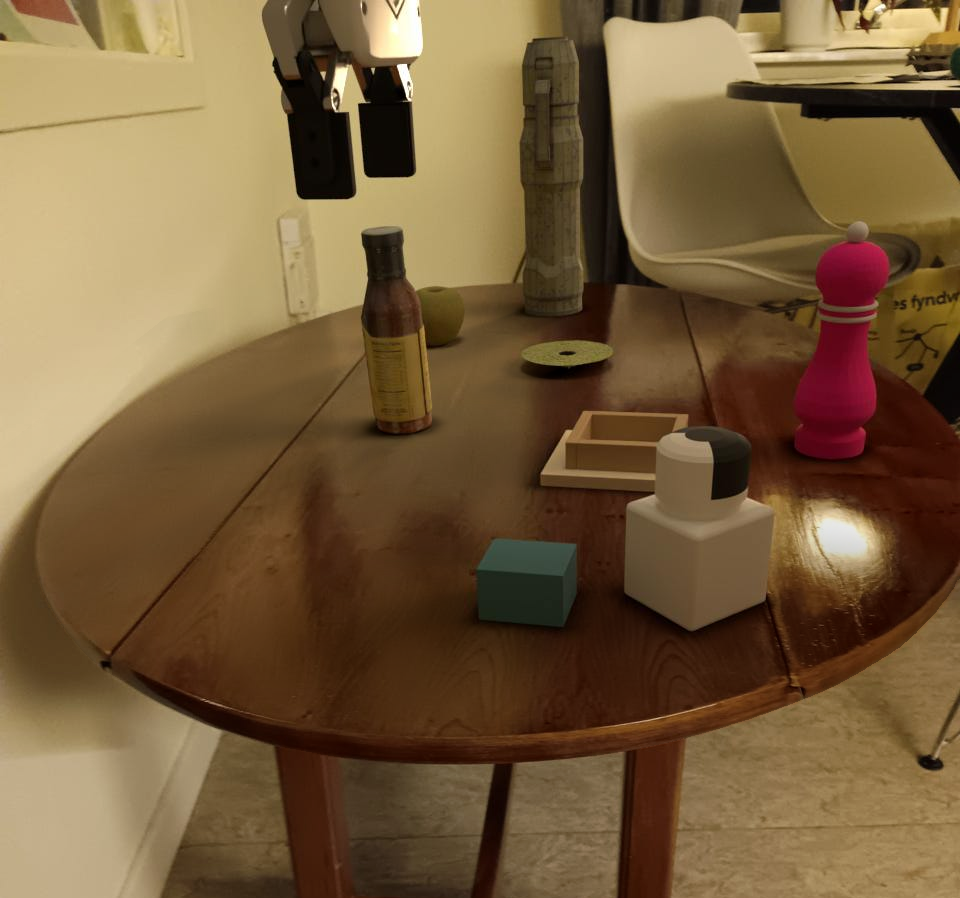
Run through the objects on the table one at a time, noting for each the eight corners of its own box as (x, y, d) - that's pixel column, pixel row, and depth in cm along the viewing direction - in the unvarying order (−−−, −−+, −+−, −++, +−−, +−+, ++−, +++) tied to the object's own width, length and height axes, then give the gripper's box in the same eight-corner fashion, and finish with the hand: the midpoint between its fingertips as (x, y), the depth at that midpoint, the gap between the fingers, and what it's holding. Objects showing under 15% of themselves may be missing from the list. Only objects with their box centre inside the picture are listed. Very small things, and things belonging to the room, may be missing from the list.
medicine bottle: (695, 566, 74) (706, 410, 68) (767, 602, 69) (785, 437, 63) (621, 594, 71) (625, 433, 65) (690, 634, 66) (702, 463, 60)
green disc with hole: (602, 382, 115) (602, 365, 114) (510, 378, 119) (509, 362, 118) (621, 356, 125) (621, 341, 124) (535, 353, 128) (535, 338, 127)
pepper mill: (885, 449, 93) (923, 219, 82) (834, 468, 89) (867, 231, 79) (822, 430, 98) (851, 212, 88) (772, 447, 94) (796, 223, 84)
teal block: (577, 593, 71) (576, 543, 69) (563, 628, 67) (562, 575, 65) (496, 587, 73) (494, 537, 71) (478, 620, 69) (475, 569, 67)
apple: (477, 342, 135) (474, 287, 131) (431, 354, 130) (426, 298, 127) (442, 333, 140) (439, 280, 136) (397, 345, 135) (392, 290, 132)
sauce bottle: (400, 414, 109) (381, 221, 99) (445, 422, 106) (430, 224, 96) (361, 432, 105) (337, 232, 94) (407, 441, 101) (387, 235, 91)
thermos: (519, 320, 144) (511, 39, 126) (528, 302, 154) (521, 39, 136) (580, 319, 143) (581, 35, 125) (585, 300, 153) (585, 35, 135)
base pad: (708, 447, 95) (711, 409, 94) (698, 495, 86) (701, 454, 84) (566, 441, 99) (565, 405, 97) (540, 486, 89) (539, 447, 87)
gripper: (326, -257, 39) (368, 208, 48) (452, -179, 53) (466, 169, 62) (159, -235, 41) (229, 209, 50) (324, -166, 55) (355, 171, 64)
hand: (361, 186), depth 56 cm, fingers open, 9 cm apart
